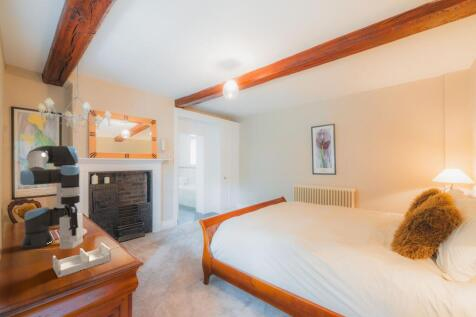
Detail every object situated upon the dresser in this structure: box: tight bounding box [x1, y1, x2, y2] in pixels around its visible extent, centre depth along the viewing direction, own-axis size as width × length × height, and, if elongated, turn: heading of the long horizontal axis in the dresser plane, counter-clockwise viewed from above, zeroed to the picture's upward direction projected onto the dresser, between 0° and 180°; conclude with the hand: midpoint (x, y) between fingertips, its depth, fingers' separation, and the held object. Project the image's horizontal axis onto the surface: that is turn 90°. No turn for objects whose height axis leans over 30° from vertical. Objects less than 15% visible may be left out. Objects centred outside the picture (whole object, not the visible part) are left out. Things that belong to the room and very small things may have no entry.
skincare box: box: [59, 212, 84, 250], centre depth 108 cm, size 8×7×16 cm
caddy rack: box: [52, 242, 112, 278], centre depth 111 cm, size 14×22×6 cm, turn 139°
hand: (70, 239), depth 107 cm, fingers closed on skincare box, 10 cm apart
